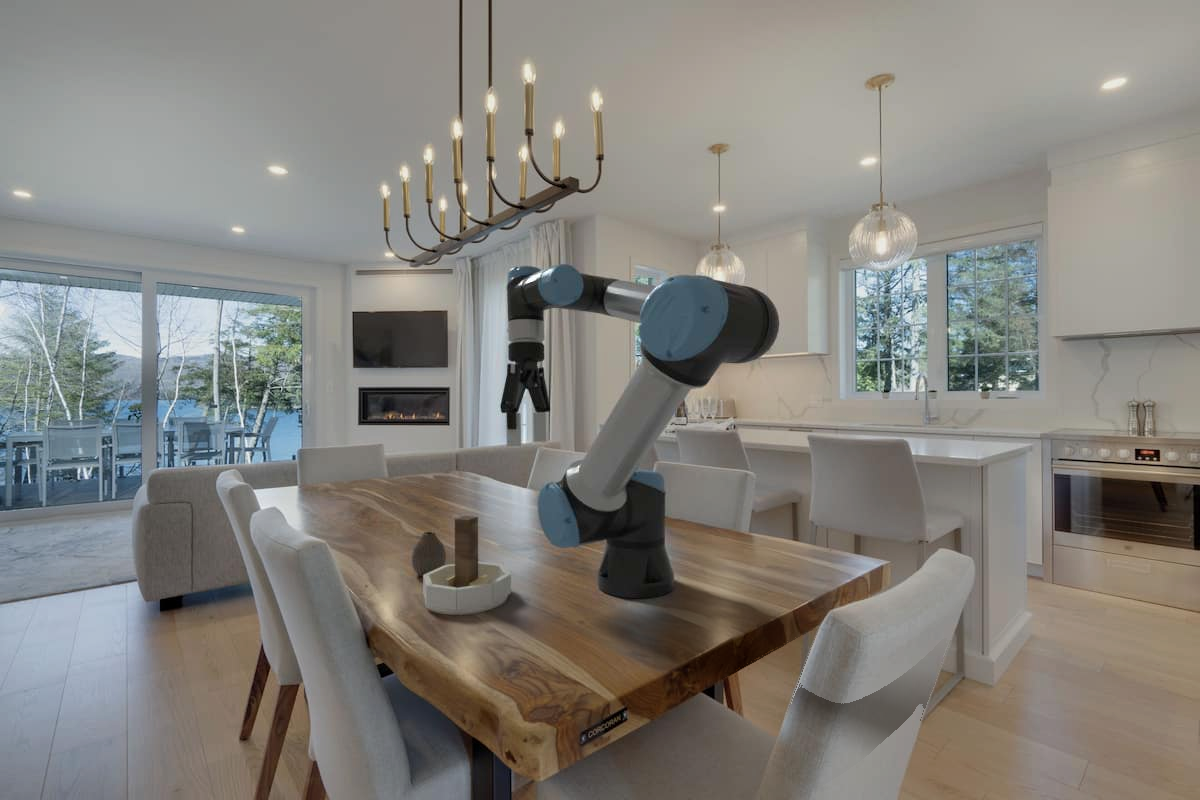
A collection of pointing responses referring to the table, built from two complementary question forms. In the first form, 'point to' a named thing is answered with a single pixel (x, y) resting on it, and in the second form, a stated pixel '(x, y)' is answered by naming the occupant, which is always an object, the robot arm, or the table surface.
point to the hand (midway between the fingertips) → (527, 444)
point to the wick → (466, 550)
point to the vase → (428, 554)
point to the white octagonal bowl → (466, 590)
